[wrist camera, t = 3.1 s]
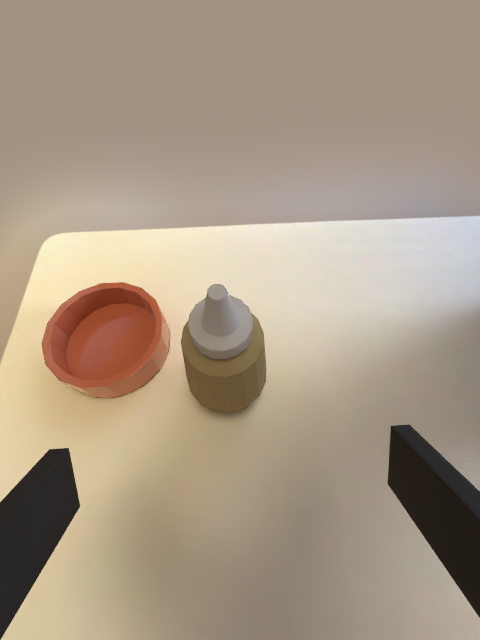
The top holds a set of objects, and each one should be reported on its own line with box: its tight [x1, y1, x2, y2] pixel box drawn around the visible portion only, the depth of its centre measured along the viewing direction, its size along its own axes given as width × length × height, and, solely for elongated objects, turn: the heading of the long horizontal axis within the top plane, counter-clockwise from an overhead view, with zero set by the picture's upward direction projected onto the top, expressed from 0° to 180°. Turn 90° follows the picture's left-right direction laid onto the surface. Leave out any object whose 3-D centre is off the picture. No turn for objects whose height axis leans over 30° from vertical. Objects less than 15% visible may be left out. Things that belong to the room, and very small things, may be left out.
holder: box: [42, 282, 170, 398], centre depth 35 cm, size 13×13×4 cm
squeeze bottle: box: [181, 284, 266, 412], centre depth 26 cm, size 8×8×18 cm
